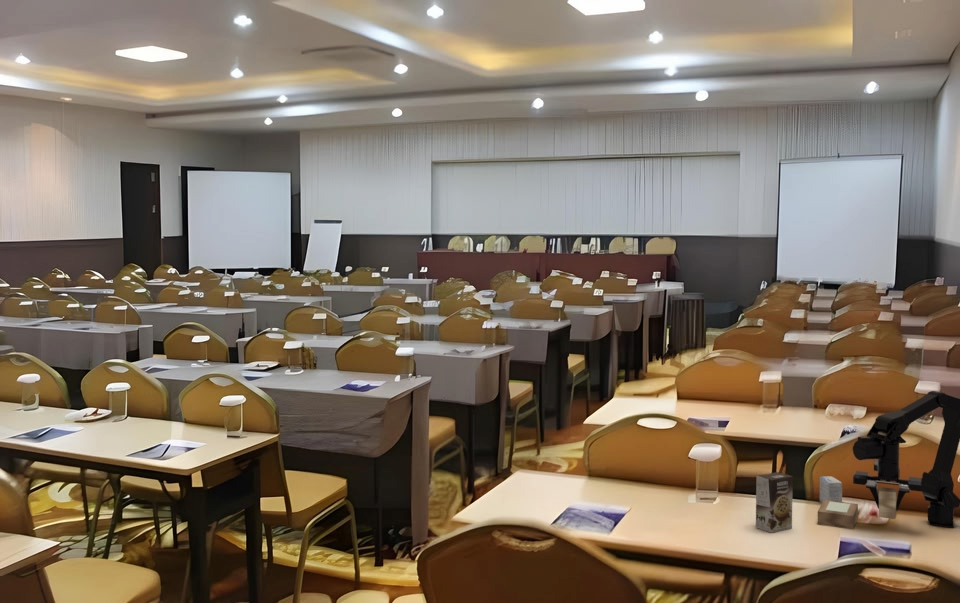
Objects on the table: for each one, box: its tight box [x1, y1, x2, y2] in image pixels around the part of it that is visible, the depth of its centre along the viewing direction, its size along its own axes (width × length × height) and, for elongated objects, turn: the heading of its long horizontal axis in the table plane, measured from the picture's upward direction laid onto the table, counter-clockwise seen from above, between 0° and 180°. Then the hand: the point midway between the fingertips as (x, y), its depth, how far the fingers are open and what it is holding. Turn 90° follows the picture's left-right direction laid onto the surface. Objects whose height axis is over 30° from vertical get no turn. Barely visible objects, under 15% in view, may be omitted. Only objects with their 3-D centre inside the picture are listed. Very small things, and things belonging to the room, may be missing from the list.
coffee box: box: [755, 471, 794, 534], centre depth 247 cm, size 9×6×16 cm
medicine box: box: [819, 475, 843, 504], centre depth 270 cm, size 8×4×9 cm, turn 179°
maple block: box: [878, 486, 898, 520], centre depth 245 cm, size 4×4×8 cm
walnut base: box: [817, 500, 859, 530], centre depth 254 cm, size 10×14×4 cm
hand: (887, 509), depth 245 cm, fingers closed on maple block, 4 cm apart
